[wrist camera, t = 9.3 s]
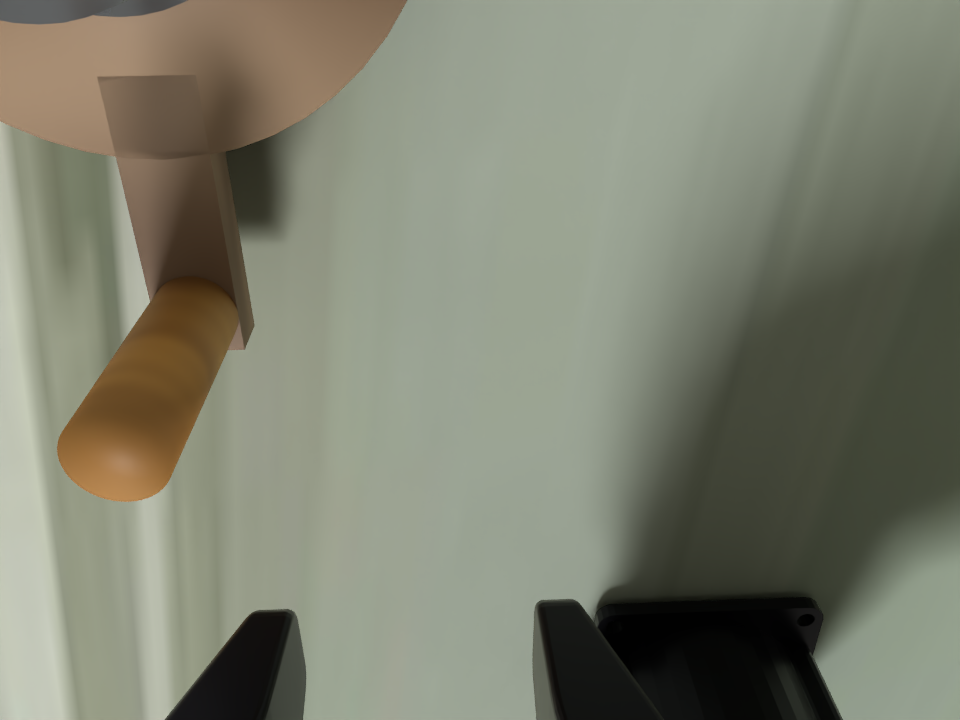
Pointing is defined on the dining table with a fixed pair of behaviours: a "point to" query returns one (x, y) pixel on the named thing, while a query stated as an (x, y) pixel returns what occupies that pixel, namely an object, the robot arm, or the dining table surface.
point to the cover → (77, 9)
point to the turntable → (176, 185)
